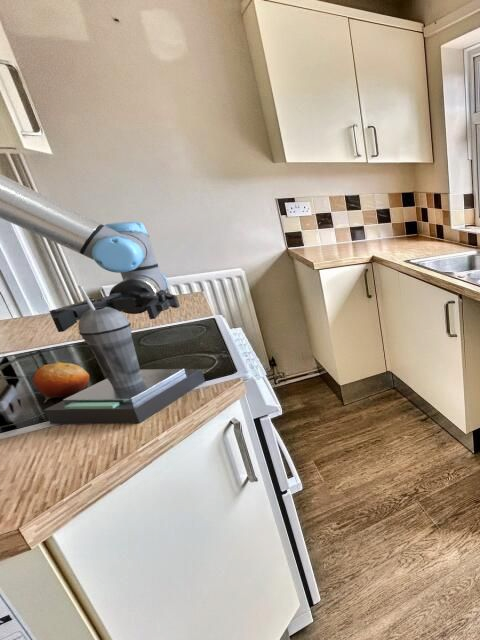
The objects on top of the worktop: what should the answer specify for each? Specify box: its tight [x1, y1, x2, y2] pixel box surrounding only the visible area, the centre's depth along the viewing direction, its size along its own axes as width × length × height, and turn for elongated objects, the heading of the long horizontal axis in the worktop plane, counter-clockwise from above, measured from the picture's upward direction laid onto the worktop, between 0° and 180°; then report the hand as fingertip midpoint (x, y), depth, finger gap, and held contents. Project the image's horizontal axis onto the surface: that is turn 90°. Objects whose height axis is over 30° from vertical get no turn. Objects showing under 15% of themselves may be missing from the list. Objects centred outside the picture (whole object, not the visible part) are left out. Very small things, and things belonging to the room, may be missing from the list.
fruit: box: [32, 361, 90, 404], centre depth 87 cm, size 8×8×8 cm
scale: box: [43, 368, 206, 425], centre depth 84 cm, size 17×17×4 cm
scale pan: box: [62, 368, 185, 404], centre depth 84 cm, size 13×13×1 cm
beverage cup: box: [77, 285, 142, 388], centre depth 80 cm, size 7×7×20 cm
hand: (105, 318), depth 81 cm, fingers open, 13 cm apart
